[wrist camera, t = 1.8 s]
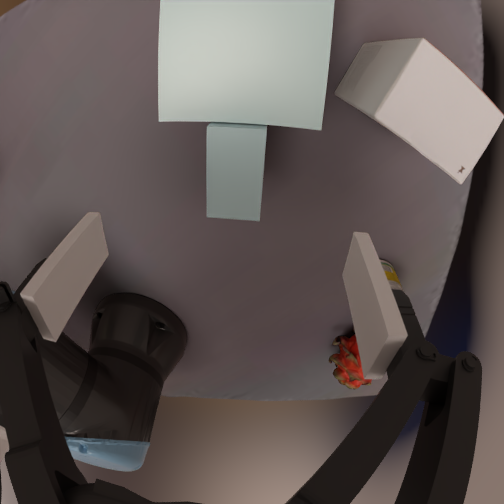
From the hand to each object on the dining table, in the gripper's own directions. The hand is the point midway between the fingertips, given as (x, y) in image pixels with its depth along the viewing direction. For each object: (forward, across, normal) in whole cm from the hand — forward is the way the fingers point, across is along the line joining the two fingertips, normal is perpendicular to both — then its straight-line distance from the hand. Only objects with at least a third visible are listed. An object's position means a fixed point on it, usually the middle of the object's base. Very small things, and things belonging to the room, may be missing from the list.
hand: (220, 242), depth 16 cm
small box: (+18, -12, -8) cm, 23 cm away
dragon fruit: (+18, -18, +27) cm, 37 cm away
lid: (+13, 0, -9) cm, 16 cm away
